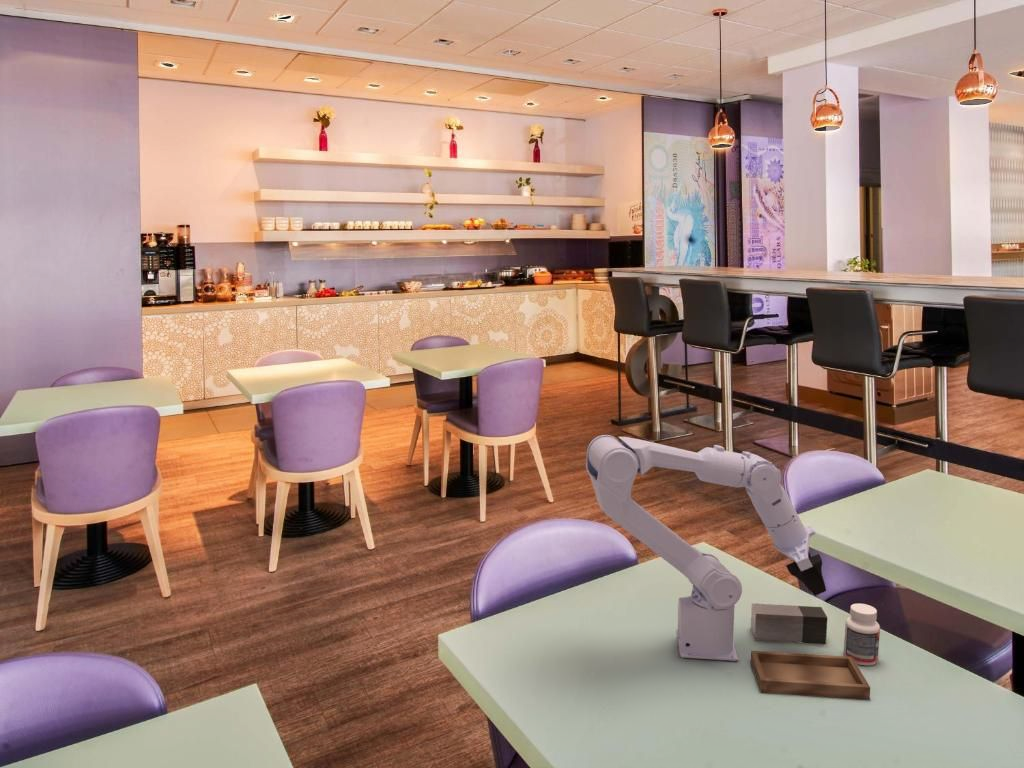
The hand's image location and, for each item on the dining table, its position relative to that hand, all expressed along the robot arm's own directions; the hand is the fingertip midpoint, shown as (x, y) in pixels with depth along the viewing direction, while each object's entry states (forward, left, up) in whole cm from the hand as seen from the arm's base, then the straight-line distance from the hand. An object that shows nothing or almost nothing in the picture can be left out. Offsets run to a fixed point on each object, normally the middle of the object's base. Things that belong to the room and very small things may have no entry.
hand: (813, 579), depth 128 cm
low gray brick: (-4, +1, -11) cm, 12 cm away
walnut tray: (-4, -13, -11) cm, 18 cm away
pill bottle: (+7, -5, -12) cm, 14 cm away
